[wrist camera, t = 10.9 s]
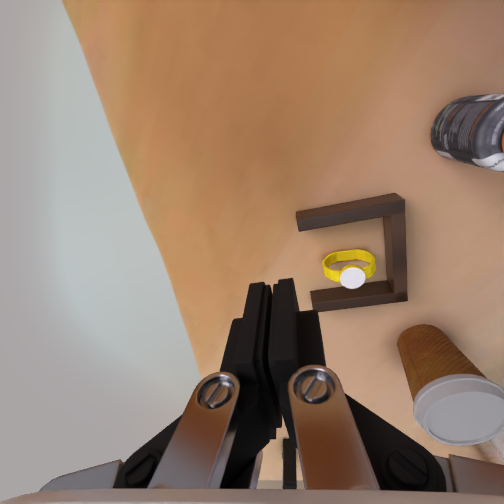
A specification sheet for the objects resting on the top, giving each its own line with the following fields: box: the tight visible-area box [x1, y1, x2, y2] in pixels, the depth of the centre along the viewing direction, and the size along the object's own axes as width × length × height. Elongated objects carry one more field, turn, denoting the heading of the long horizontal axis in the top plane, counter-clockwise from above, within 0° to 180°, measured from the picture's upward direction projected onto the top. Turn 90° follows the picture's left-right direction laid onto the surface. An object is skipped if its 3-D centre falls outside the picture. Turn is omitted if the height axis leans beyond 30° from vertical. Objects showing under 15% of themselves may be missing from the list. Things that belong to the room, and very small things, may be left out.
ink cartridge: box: [282, 439, 297, 489], centre depth 52 cm, size 5×2×8 cm, turn 1°
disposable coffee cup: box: [397, 325, 504, 446], centre depth 37 cm, size 10×10×12 cm
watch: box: [322, 249, 376, 289], centre depth 35 cm, size 6×3×6 cm, turn 103°
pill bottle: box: [431, 93, 504, 172], centre depth 26 cm, size 6×6×11 cm
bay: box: [296, 193, 408, 312], centre depth 36 cm, size 13×12×3 cm
